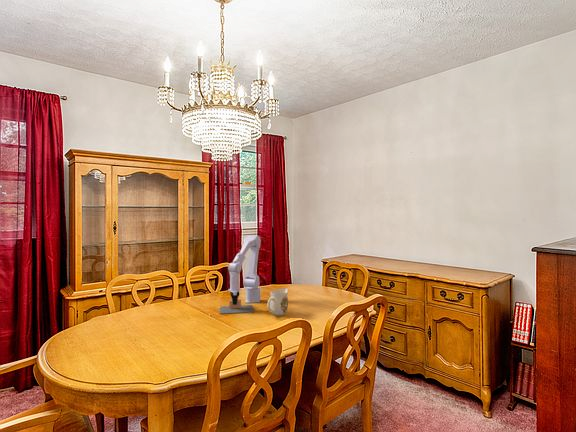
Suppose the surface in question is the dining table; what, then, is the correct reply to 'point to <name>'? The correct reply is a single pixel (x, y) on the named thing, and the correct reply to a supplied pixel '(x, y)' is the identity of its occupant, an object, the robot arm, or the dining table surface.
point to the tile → (235, 305)
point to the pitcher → (278, 302)
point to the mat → (238, 310)
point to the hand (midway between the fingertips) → (234, 303)
